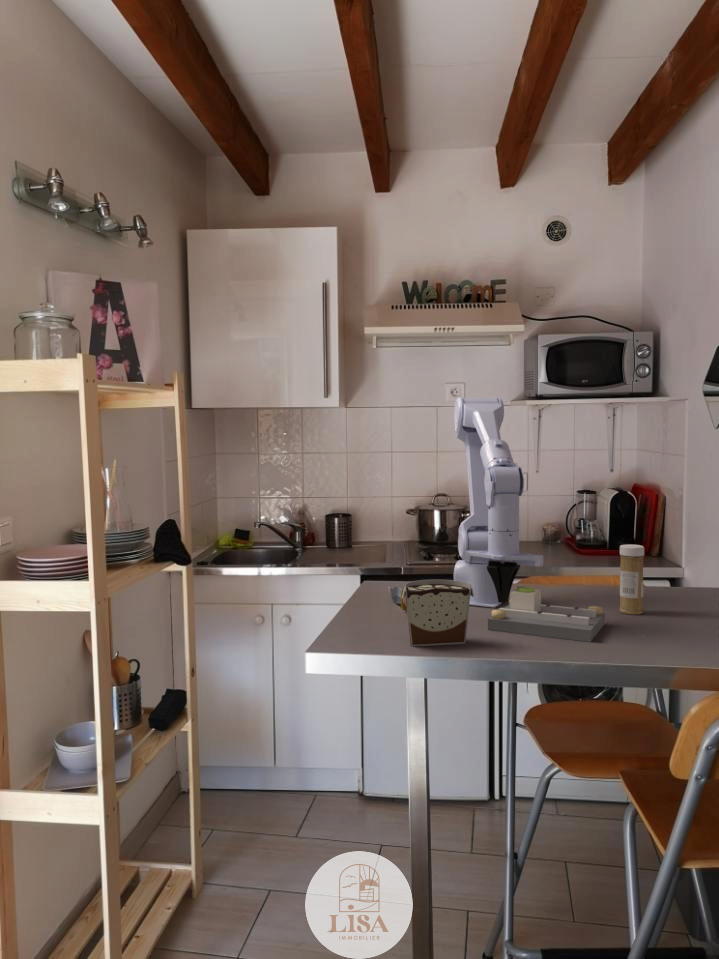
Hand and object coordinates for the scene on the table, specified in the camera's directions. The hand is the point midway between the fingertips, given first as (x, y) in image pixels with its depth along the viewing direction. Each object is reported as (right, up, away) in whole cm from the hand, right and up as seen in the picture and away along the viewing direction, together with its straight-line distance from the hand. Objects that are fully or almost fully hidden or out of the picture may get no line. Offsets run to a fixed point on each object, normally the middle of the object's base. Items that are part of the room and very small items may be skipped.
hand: (503, 601), depth 135 cm
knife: (-19, -4, +11) cm, 22 cm away
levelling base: (+7, -4, -4) cm, 9 cm away
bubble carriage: (+4, -2, -2) cm, 5 cm away
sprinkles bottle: (+27, -4, +7) cm, 28 cm away
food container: (-15, -5, -12) cm, 20 cm away
